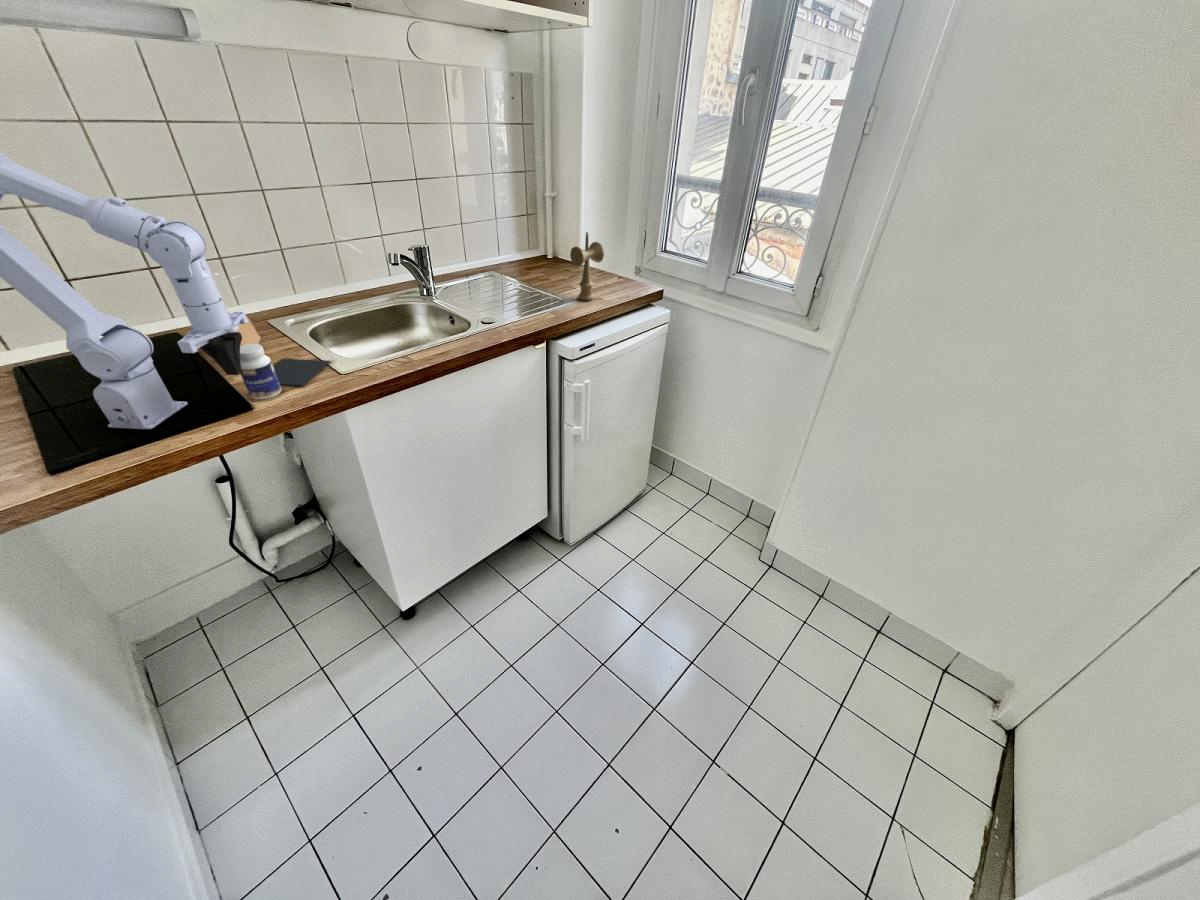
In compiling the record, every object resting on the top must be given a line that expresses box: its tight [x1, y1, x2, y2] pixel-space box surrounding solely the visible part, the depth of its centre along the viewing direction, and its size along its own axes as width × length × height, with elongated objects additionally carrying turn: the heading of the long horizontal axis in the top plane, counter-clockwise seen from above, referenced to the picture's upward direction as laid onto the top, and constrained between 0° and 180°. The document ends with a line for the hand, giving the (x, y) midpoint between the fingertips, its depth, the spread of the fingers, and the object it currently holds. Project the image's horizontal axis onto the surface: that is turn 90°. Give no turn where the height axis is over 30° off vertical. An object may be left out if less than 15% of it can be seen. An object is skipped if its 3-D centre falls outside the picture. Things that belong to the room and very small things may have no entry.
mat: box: [273, 358, 331, 388], centre depth 107 cm, size 12×11×1 cm
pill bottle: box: [239, 343, 282, 400], centre depth 97 cm, size 6×6×10 cm
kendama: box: [570, 231, 605, 301], centre depth 149 cm, size 6×10×20 cm, turn 135°
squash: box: [228, 312, 262, 346], centre depth 111 cm, size 11×20×9 cm, turn 39°
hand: (234, 373), depth 91 cm, fingers closed
